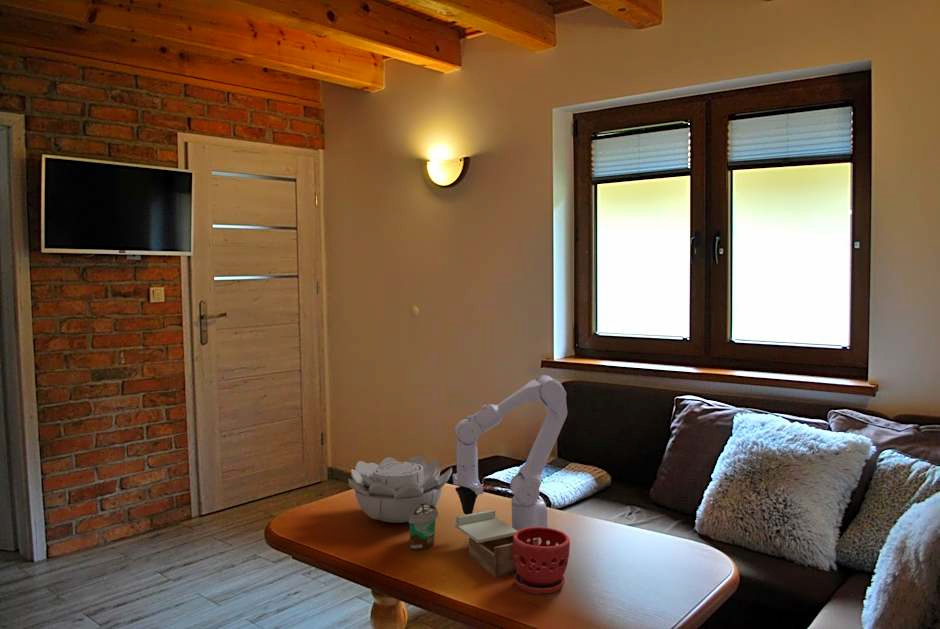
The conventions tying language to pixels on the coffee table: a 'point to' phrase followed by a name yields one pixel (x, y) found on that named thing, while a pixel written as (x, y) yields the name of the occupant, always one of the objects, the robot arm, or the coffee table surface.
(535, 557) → the plant pot
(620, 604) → the coffee table surface
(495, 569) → the box
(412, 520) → the food container
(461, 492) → the robot arm
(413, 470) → the decorative bowl
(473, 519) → the lid
